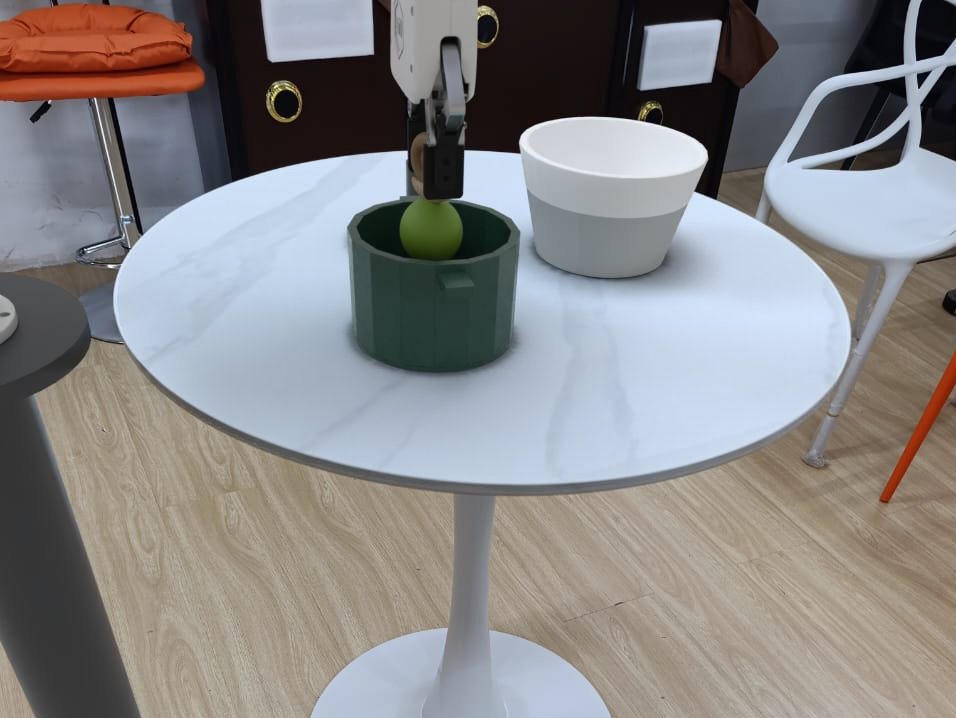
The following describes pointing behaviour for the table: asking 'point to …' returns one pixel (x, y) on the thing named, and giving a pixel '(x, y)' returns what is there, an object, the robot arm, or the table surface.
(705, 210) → the table surface
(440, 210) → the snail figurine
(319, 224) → the table surface
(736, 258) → the table surface
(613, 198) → the bowl
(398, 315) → the pot
